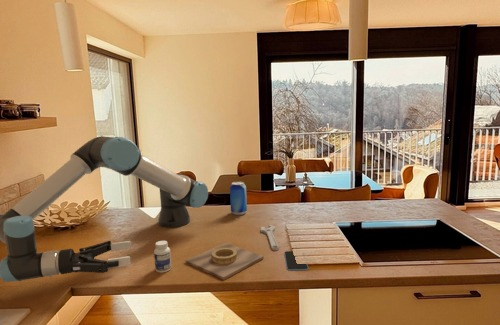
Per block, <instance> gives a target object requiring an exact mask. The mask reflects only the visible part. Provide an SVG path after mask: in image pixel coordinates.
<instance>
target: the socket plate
mask: <svg viewBox="0 0 500 325" xmlns="http://www.w3.org/2000/svg"><path fill="white" fill-rule="evenodd" d="M262 260H264V255H262V254H258V253H256V252H252V251H249V250H247V249H245V248H241V247H239V246H236V245H233V244H230V243H227V242H224V243H222V244H219V245H217V246H214V247H212V248H210V249H208V250H206V251H203V252H202V253H201V252H200V253H199V254H196V255H193V256H191V257H189V258H187V259H185V263H186V264H188V265H190V266H192V267H194V268H196V269H199V270H201V271H204V272H205V273H208V274H209V275H212V276H214V277H216V278H218V279H220V280H223V281H225V280H227V279H229V278H230V277H233V276H234V275H236V274H238V273H239V272H242V271H244V270H246V268H249V267H251V266H253V265H255V264H256V263H258V262H260V261H262Z"/></svg>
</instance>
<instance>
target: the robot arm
mask: <svg viewBox="0 0 500 325" xmlns="http://www.w3.org/2000/svg"><path fill="white" fill-rule="evenodd" d="M69 157H70V159H69V160H67V161H66V162H65V163H64V164H63V165H61V167H60V168H59V167H58V169H57V170H56V171H55V172H53V173H52V174H51V175H49V176H48V177H47V178H46V179H45V180H44V181H43V182H41V183H40V184H39V185H38V186H36V187H35V188H34V189H33V190H32V191H31V192H29V193H28V194H27V195H26V196H24V197H23V198H22V199H20V201H18V202H17V203H16V204H15V205H14V206H13V207H11V208H10V209H9V210H8V211H6V212H5V213H2V214H0V241H1V242H2V243H4V244H5V245H6V254H7V256H6V257H3V258H2V259H1V261H0V279H1V280H2V281H3V282H5V283H9V282H11V283H12V282H23V281H25V280H33V279H38V278H45V277H49V278H52V277H53V276H58V275H59V274H61V275H66V274H71V273H72V274H73V273H94V274H96V273H99V274H104V273H107V272H109V269H113V268H120V267H126V266H131V257H130V255H129V256H127V255H126V256H120V257H114V258H107V260H104V259H96V258H95V257H98V256H100V255H104V254H105V253H108V252H110V251H111V252H116V251H118V252H120V251H125V250H131V249H132V244H131V243H132V242H131V240H128V241H126V240H125V241H119V242H112V241H111V240H107V241H104V242H100V243H97V244H93V245H90V246H86V247H81V248H79V249H78V252H75V251H74V249H73V248H66V249H61V250H50V251H43V252H38V248H37V240H36V239H37V238H36V231H35V228H36V226H35V225H34V220H35V219H36V218H37V217H38V216H39V215H41V214H42V213H43V212H45V210H47V209H48V208H49V207H50V206H51V205H52V204H53V203H54V202H56V200H58V199H59V198H60V197H62V195H63V194H64V193H66V192H67V191H68V190H69V189H70V188H71V187H73V186H74V185H75V184H76V183H77V182H78V181H79V180H80V179H82V178H83V177H84V176H86V175H87V174H88V175H90V174H92V173H93V172H94V171H96V170H97V169H100V168H106V169H109V170H112V171H114V172H116V173H118V174H120V175H123V176H125V177H126V176H127V177H128V176H130V175H132V176H134V177H136V179H137V178H138V179H140V180H142V181H144V182H146V183H148V184H150V185H152V186H154V187H156V188H158V189H159V198H160V211H159V217H158V219H157V221H158V225H159V226H160V227H162V228H178V227H182V226H186V225H187V224H189V223H190V222H191V217H190V213H189V211H188V209H187V207H192V208H193V209H194V208H196V209H197V208H201V207H202V206H204V205H205V204H206V202H207V200H208V198H209V188H208V186H207V185H206V183H204V182H202V181H197V180H194V179H193V178H191V177H189V176H187V175H183V174H177V173H175V172H173V171H171V170H170V169H168V168H166V167H164V166H162V165H161V164H160V163H157V162H155V161H154V160H152V159H150V158H149V157H146V156H145V155H143V153H142V150H141V149H140V148H138V146H137V145H136V143H135V142H134V141H132V140H131V139H128V138H126V137H123V136H115V137H114V136H103V135H102V136H96V137H94V138H92V139H90V140H88V141H87V142H85V143H84V144H83V145H82V146H80V147H79V148H78V149H76V150H75V151H74V152H73V153H72V154H70V156H69ZM111 242H112V243H111Z"/></svg>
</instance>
